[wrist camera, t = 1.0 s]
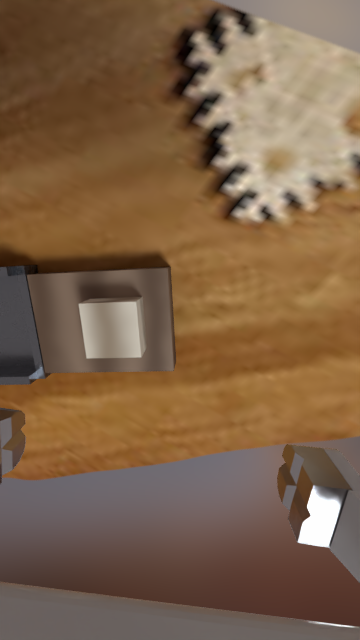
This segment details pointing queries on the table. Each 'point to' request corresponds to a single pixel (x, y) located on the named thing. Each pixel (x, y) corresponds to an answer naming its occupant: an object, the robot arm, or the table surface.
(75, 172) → the table surface
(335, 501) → the robot arm
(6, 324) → the box
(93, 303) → the block
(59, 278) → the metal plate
